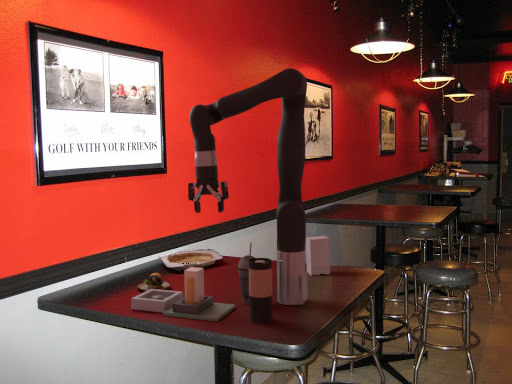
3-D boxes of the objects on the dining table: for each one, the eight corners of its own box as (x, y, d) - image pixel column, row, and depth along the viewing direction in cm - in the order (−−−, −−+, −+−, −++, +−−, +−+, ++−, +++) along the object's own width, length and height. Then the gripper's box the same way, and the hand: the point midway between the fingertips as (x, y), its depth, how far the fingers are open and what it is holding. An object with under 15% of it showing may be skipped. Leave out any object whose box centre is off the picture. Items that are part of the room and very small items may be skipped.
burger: (130, 290, 194) (130, 270, 194) (157, 283, 203) (156, 264, 202) (150, 296, 186) (150, 275, 186) (177, 289, 195) (176, 269, 194)
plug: (204, 305, 170) (203, 267, 169) (196, 311, 164) (195, 272, 163) (191, 304, 172) (190, 267, 171) (183, 310, 165) (182, 271, 164)
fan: (201, 298, 182) (201, 288, 182) (175, 314, 165) (175, 302, 165) (160, 294, 187) (160, 284, 187) (131, 309, 171) (131, 298, 170)
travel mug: (253, 315, 162) (252, 257, 160) (275, 317, 160) (274, 258, 158) (246, 323, 155) (245, 262, 154) (269, 325, 153) (268, 263, 152)
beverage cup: (247, 297, 181) (246, 239, 180) (264, 301, 177) (263, 241, 175) (233, 302, 176) (232, 242, 174) (250, 306, 171) (249, 245, 169)
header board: (235, 307, 170) (235, 297, 170) (216, 321, 157) (216, 309, 157) (185, 302, 177) (184, 292, 176) (163, 315, 164) (162, 304, 163)
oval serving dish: (235, 262, 238) (200, 254, 253) (234, 253, 238) (200, 246, 253) (178, 277, 215) (144, 268, 230) (178, 267, 214) (144, 258, 230)
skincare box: (325, 271, 218) (325, 235, 216) (330, 274, 212) (330, 237, 211) (305, 272, 216) (305, 236, 215) (310, 276, 210) (310, 238, 209)
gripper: (230, 163, 181) (233, 211, 182) (193, 165, 186) (196, 211, 188) (220, 164, 174) (223, 213, 175) (182, 166, 180) (185, 214, 181)
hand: (209, 212), depth 181 cm, fingers open, 8 cm apart
